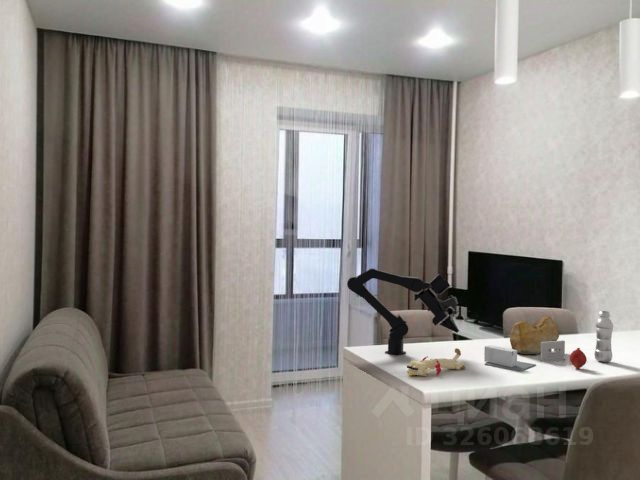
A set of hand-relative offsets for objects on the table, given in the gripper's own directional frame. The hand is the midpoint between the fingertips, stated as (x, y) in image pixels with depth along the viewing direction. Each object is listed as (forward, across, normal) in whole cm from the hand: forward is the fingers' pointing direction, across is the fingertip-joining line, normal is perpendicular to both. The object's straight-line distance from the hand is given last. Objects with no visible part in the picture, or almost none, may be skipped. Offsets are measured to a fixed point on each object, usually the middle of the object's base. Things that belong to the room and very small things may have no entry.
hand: (458, 332), depth 226 cm
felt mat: (+22, -3, -7) cm, 23 cm away
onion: (+38, +4, -24) cm, 45 cm away
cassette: (+32, +14, -18) cm, 39 cm away
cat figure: (+6, -28, +10) cm, 30 cm away
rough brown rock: (+25, +29, -11) cm, 40 cm away
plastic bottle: (+45, +21, -31) cm, 59 cm away
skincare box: (+13, -1, -3) cm, 13 cm away
